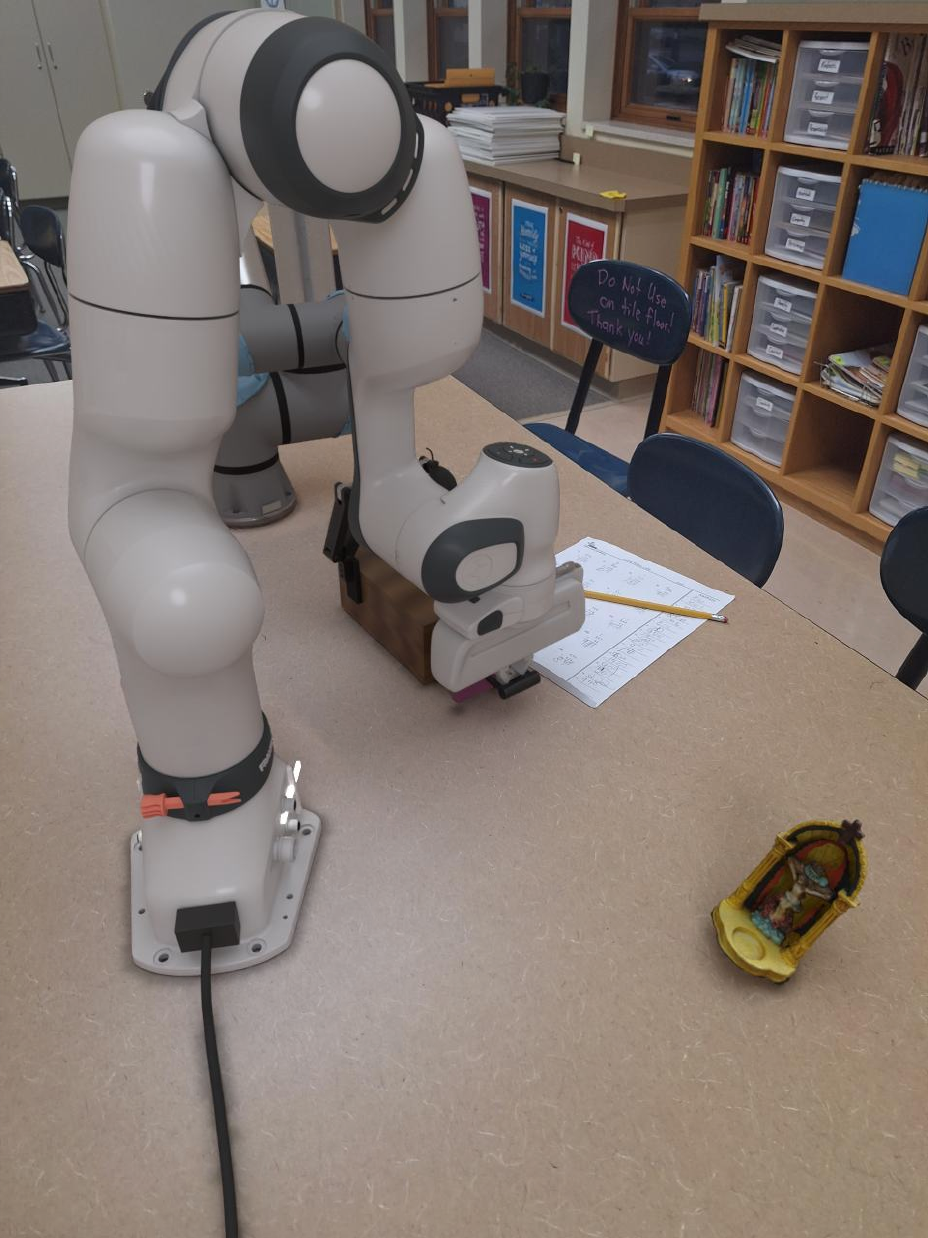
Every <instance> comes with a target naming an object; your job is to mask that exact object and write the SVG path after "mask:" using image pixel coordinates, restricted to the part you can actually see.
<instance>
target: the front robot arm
mask: <svg viewBox="0 0 928 1238" xmlns="http://www.w3.org/2000/svg"><path fill="white" fill-rule="evenodd" d="M267 202H268V203H270V204H274V205H278V206H282V207H286V208H290V209H293V210H295V211H297V212H299V213H302V214H305V215H308V216H311V217H316V218H321V219H327V220H328V222H329V225H330V230H331V232H332V235H333V237H334V240H335V243H336V244H337V254H338V262H339V267H340V268H339V269H340V276H341V283H342V288H343V289H342V290H344V295H345V301H346V308H347V315H348V324H349V336H350V337H349V342H348V347H347V356H346V372H347V389H348V400H349V411H350V422H351V433H352V434H351V444H352V452H353V453H352V454H353V478H352V482H353V483H352V488H351V493H350V499H349V505H348V523H349V527H350V531H351V533H352V535H353V537H354V539H355V540H356V541H357V543H358V544H359V545H360V546H361V547H363V548H364V549H366V550H367V551H369V552H370V553H372V554H374V555H375V556H377V557H378V558H380V559H382V560H384V561H385V562H386V563H388V564H389V565H390V566H391V567H392V568H394V569H395V570H396V571H397V572H399V573H400V574H401V575H402V576H403V577H405V578H406V579H407V580H409V581H411V582H412V583H413V584H414V585H416V586H417V587H418V588H419V589H421V590H422V591H423V592H424V593H426V594H427V595H429V596H430V597H431V598H433V599H434V600H435V602H434V612H435V613H436V615H437V616H438V617H439V618H440V619H439V621H438V622H437V623H436V625H435V627H434V630H433V633H432V641H431V671H432V674H433V676H434V678H435V679H436V680H435V681H437V682H438V683H439V684H440V685H441V686H443V687H444V688H445V689H446V690H448V691H450V692H451V693H452V692H458V691H460V690H462V689H464V688H466V687H468V686H470V685H472V684H474V683H476V682H478V681H480V680H482V679H484V678H486V677H488V676H490V675H492V674H495V675H496V680H497V681H498V682H499V683H500V684H502V685H504V684H506V683H508V682H510V681H512V680H514V679H516V678H519V677H521V676H523V675H525V672H526V671H527V669H528V670H529V667H530V665H531V663H532V662H533V660H534V656H535V655H534V654H536V653H538V652H539V651H541V650H544V649H546V648H548V647H550V646H552V645H554V644H555V643H557V642H560V641H561V640H564V639H565V638H568V637H569V636H572V635H573V634H576V633H578V632H580V631H581V629H582V627H583V625H584V623H585V621H586V595H585V589H584V585H583V582H584V581H583V579H584V568H583V567H582V565H581V564H580V563H579V562H575V561H573V560H568V561H566V562H564V563H562V564H561V565H559V566H557V559H556V555H555V550H554V549H555V548H554V546H555V542H556V539H557V537H558V535H559V527H560V514H561V513H560V511H561V489H560V479H559V474H558V473H559V472H558V468H557V466H556V463H555V461H554V460H553V459H552V458H551V457H550V456H549V455H547V454H546V453H544V452H543V451H541V450H539V449H537V448H535V447H533V446H530V445H528V444H523V443H519V442H518V443H517V442H513V441H497V442H493V443H489V444H487V445H484V446H483V447H482V448H481V450H480V452H479V456H478V458H477V462H476V463H475V465H474V467H473V468H472V469H471V470H470V472H469V473H468V474H467V475H466V477H465V478H464V479H462V481H460V482H459V483H458V484H457V486H456V487H455V488H454V489H452V490H451V491H448V490H446V489H445V488H443V487H442V486H440V485H439V484H437V483H436V482H435V481H434V480H433V479H432V478H431V477H430V476H429V475H428V474H427V473H426V472H425V470H424V469H423V468H422V466H421V465H420V463H419V458H418V457H417V452H416V423H415V422H416V420H415V392H416V389H417V388H420V387H423V386H426V385H430V384H432V383H435V382H437V381H440V380H443V379H445V378H447V377H449V376H451V375H452V374H454V373H455V372H456V371H458V370H459V369H460V368H462V367H463V365H464V364H465V363H466V362H467V361H468V360H469V359H470V358H471V357H472V355H473V353H474V352H475V351H476V349H477V348H478V345H479V343H480V342H481V337H482V331H483V325H484V317H485V316H484V315H485V296H484V295H485V294H484V281H483V273H482V272H483V271H482V258H481V249H480V240H479V232H478V225H477V219H476V212H475V207H474V203H473V196H472V192H471V188H470V183H469V178H468V174H467V170H466V166H465V163H464V159H463V156H462V151H461V149H460V146H459V144H458V142H457V140H456V138H455V136H454V135H453V134H452V132H451V131H450V130H449V129H448V128H447V127H446V126H445V125H444V124H442V123H441V122H440V121H438V120H435V118H432V117H429V116H427V115H423V114H421V113H418V112H416V111H415V109H414V107H413V104H412V101H411V97H410V95H409V92H408V89H407V86H406V85H405V82H404V81H403V78H402V76H401V75H400V72H399V71H398V69H397V67H396V66H395V65H394V63H393V62H392V60H391V59H390V57H389V56H388V55H387V54H386V52H385V51H384V50H383V49H382V48H381V47H380V46H379V45H378V44H377V43H376V42H375V41H374V40H373V39H372V38H371V37H369V36H368V35H367V34H365V33H363V32H362V31H361V30H358V29H357V28H356V27H354V26H352V25H349V24H347V23H345V22H343V21H340V20H337V19H335V18H331V17H326V16H312V15H311V16H307V15H303V14H300V13H297V12H295V11H293V10H289V9H286V8H280V7H270V6H269V7H257V8H248V9H243V10H224V11H220V12H216V13H213V14H211V15H208V16H207V17H205V18H203V19H202V20H199V22H197V23H196V24H195V25H194V26H192V27H191V28H190V29H189V30H188V31H187V32H186V33H185V34H184V36H183V37H182V38H181V40H180V41H179V42H178V44H177V46H176V47H175V49H174V51H173V52H172V55H171V57H170V59H169V61H168V64H167V67H166V69H165V71H164V73H163V75H162V77H161V78H160V80H159V82H158V84H157V85H156V87H155V89H154V91H153V92H152V95H151V96H150V98H149V99H148V102H147V104H146V108H145V109H144V108H130V109H122V110H117V111H114V112H111V113H108V114H105V115H103V116H100V117H99V118H96V119H95V120H93V121H92V122H90V123H89V124H88V125H87V126H86V127H85V128H84V130H83V131H82V133H81V134H80V136H79V138H78V140H77V144H76V146H75V151H74V157H73V163H72V170H71V177H70V185H69V194H68V205H67V220H66V223H67V224H66V251H65V252H66V254H65V256H66V258H65V259H66V263H65V264H66V286H67V287H66V288H67V307H68V323H69V342H70V343H69V344H70V354H71V355H70V358H71V375H72V377H71V378H72V394H73V395H72V396H73V397H72V399H73V419H72V433H71V440H70V451H69V453H70V454H69V467H68V494H67V495H68V496H67V498H68V499H67V524H68V533H69V537H70V538H69V539H70V541H71V543H72V546H73V548H74V551H75V552H76V554H77V556H78V559H79V560H80V562H81V564H82V567H83V569H84V571H85V573H86V575H87V578H88V581H89V583H90V586H91V587H92V590H93V592H94V594H95V596H96V599H97V601H98V603H99V606H100V609H101V611H102V613H103V616H104V619H105V622H106V624H107V627H108V630H109V633H110V637H111V641H112V644H113V648H114V652H115V656H116V661H117V665H118V671H119V676H120V688H121V691H122V694H123V697H124V701H125V703H126V707H127V711H128V714H129V717H130V721H131V724H132V726H133V730H134V733H135V736H136V739H137V743H136V744H137V745H136V756H137V758H136V759H137V762H136V763H137V772H138V778H137V780H136V782H135V783H136V785H137V788H138V791H139V807H140V810H139V811H140V828H139V829H137V830H136V831H135V832H134V833H133V834H132V836H131V838H130V916H131V917H130V924H131V925H130V926H131V927H130V928H131V931H130V933H131V934H130V935H131V955H132V960H133V963H134V965H136V966H137V967H139V968H140V969H143V970H146V971H148V972H150V973H153V974H160V975H164V976H174V977H175V976H176V977H194V976H200V1000H201V1003H200V1004H201V1013H202V1024H203V1033H204V1042H205V1050H206V1051H205V1052H206V1059H207V1066H208V1067H207V1068H208V1073H209V1074H208V1075H209V1080H210V1087H211V1096H212V1102H213V1111H214V1112H213V1113H214V1121H215V1130H216V1139H217V1148H218V1157H219V1167H220V1175H221V1176H220V1177H221V1187H222V1197H223V1211H224V1228H225V1229H224V1230H225V1232H224V1233H225V1238H239V1226H238V1225H239V1224H238V1210H237V1199H236V1189H235V1188H236V1186H235V1177H234V1167H233V1159H232V1152H231V1144H230V1134H229V1127H228V1126H229V1125H228V1118H227V1111H226V1103H225V1095H224V1090H223V1089H224V1087H223V1082H222V1081H223V1080H222V1075H221V1074H222V1073H221V1069H220V1068H221V1067H220V1062H219V1055H218V1046H217V1039H216V1030H215V1021H214V1012H213V1001H212V999H213V998H212V975H216V974H222V973H223V974H224V973H228V972H234V971H238V970H243V969H246V968H250V967H253V966H256V965H258V964H261V963H264V962H266V961H268V960H271V959H272V958H274V957H276V956H278V955H280V954H281V953H282V952H284V951H285V950H287V949H288V948H289V947H290V945H291V944H292V942H293V941H292V940H293V937H294V934H295V930H296V927H297V924H298V920H299V916H300V912H301V908H302V905H303V902H304V897H305V893H306V889H307V886H308V882H309V878H310V874H311V871H312V867H313V864H314V860H315V857H316V853H317V850H318V846H319V841H320V838H321V834H322V828H323V825H322V822H321V818H320V817H319V816H318V815H317V814H316V813H315V812H312V811H310V810H309V809H306V808H303V805H302V802H301V796H300V792H299V788H298V783H297V781H298V778H299V774H300V770H301V761H300V760H296V762H295V766H294V768H293V766H291V765H290V764H289V763H288V762H287V761H286V760H284V759H283V758H281V757H280V756H279V755H278V753H276V752H275V749H274V739H273V738H274V737H273V732H272V728H271V726H270V723H269V720H268V718H267V715H266V714H265V712H264V710H263V709H262V706H261V700H260V694H259V690H258V689H259V688H258V685H257V678H256V671H255V667H254V658H253V650H254V649H253V647H254V643H255V642H256V640H257V638H258V637H259V636H260V633H261V630H262V627H263V624H264V621H265V613H266V612H265V611H266V608H265V600H264V595H263V593H262V592H263V591H262V588H261V585H260V582H259V579H258V576H257V573H256V570H255V568H254V565H253V563H252V561H251V558H250V556H249V553H248V552H247V550H246V549H245V547H244V546H243V545H242V543H241V542H240V541H239V539H238V538H237V537H236V535H234V533H233V532H232V531H231V529H230V527H227V526H226V524H225V523H224V522H223V521H222V519H221V518H220V516H219V514H218V512H217V509H216V505H215V502H214V498H213V492H212V477H213V470H214V466H215V462H216V458H217V454H218V450H219V446H220V443H221V440H222V437H223V435H224V433H225V432H226V431H228V429H229V428H230V427H231V426H232V424H233V422H234V420H235V416H236V410H237V384H238V355H239V324H240V257H242V253H243V247H244V243H245V239H246V236H247V234H248V231H249V229H250V226H251V224H252V225H253V222H254V220H255V218H256V217H257V215H259V212H260V211H261V210H262V208H263V207H265V203H267ZM510 665H511V667H510V668H509V666H510ZM257 949H258V951H256V952H255V950H257ZM259 949H260V950H259ZM165 959H167V960H165ZM163 960H165V961H163ZM162 961H163V962H162Z"/></svg>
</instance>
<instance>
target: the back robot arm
mask: <svg viewBox="0 0 928 1238" xmlns="http://www.w3.org/2000/svg"><path fill="white" fill-rule="evenodd" d="M266 204H267V212H268V218H269V226H270V234H271V240H272V241H271V242H272V248H273V255H274V262H275V270H276V278H277V286H278V291H279V298H280V299H279V300H280V304H275V301H274V296H273V293H272V288H271V285H270V282H269V278H268V275H267V271H266V268H265V264H264V261H263V258H262V254H261V251H260V248H259V244H258V240H257V237H256V233H255V230H254V226H253V223H252V224H251V226H250V229H249V231H248V234H247V236H246V239H245V243H244V247H243V253H242V257H240V324H239V355H238V384H237V410H236V416H235V420H234V422H233V424H232V426H231V427H230V428H229V429H228V431H226V432H225V433H224V435H223V437H222V440H221V443H220V446H219V450H218V454H217V458H216V462H215V466H214V470H213V477H212V492H213V498H214V502H215V505H216V509H217V512H218V514H219V516H220V518H221V519H222V521H223V522H224V523H225V524H226V526H227V527H228V528H233V529H249V528H257V527H262V526H266V525H270V524H273V523H275V522H278V521H280V520H282V519H284V518H286V517H288V516H289V515H290V514H291V513H292V512H293V511H294V510H295V508H296V506H297V494H296V489H295V488H294V486H293V484H292V481H291V480H290V479H291V478H289V475H288V473H287V471H286V469H285V468H284V466H283V464H282V462H281V459H280V452H279V447H280V446H285V445H293V444H299V443H307V442H313V441H318V440H325V439H339V438H340V437H343V436H348V435H352V433H351V422H350V411H349V400H348V389H347V372H346V356H347V347H348V342H349V337H350V336H349V324H348V315H347V308H346V301H345V295H344V289H340V290H337V284H336V273H335V264H334V255H333V244H332V236H331V226H330V224H329V222H328V220H327V219H321V218H316V217H311V216H308V215H305V214H302V213H299V212H297V211H295V210H293V209H290V208H286V207H282V206H278V205H274V204H270V203H268V202H266ZM418 461H419V463H420V465H421V466H422V468H423V469H424V470H425V472H426V473H427V474H428V475H429V476H430V477H431V478H432V479H433V480H434V481H435V482H436V483H437V484H439V485H440V482H439V480H438V478H437V464H436V462H434V461H432V458H429V457H428V456H425V455H420V457H419V458H418ZM352 483H353V481H351V482H350V481H349V482H346V483H343V482H341V481H336V482H335V483H334V485H333V493H334V501H333V502H334V503H333V507H332V511H331V514H330V515H331V516H330V519H329V523H328V526H327V531H326V535H325V540H324V544H323V547H322V554H323V555H324V556H325V557H326V558H327V559H328V560H330V561H331V562H332V563H334V564H337V565H338V564H339V571H338V574H339V573H340V577H341V579H342V580H344V581H345V582H346V586H347V596H349V597H350V598H351V599H352V600H353V601H354V602H355V603H357V604H361V603H363V601H362V590H361V579H360V567H359V560H358V559H357V558H355V557H354V556H355V554H356V552H357V550H358V548H359V546H360V545H359V544H358V543H357V541H356V540H355V539H354V537H353V535H352V533H351V531H350V527H349V523H348V505H349V499H350V493H351V488H352ZM440 486H441V485H440Z"/></svg>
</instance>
